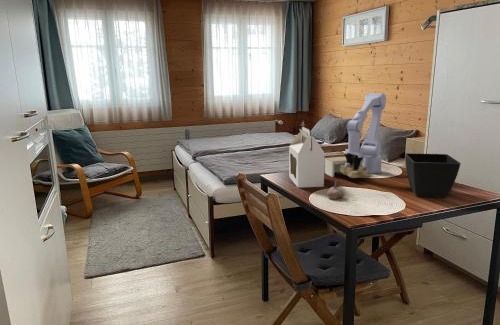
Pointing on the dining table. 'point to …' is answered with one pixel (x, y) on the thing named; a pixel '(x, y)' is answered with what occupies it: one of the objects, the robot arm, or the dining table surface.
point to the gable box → (306, 161)
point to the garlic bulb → (335, 192)
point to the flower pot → (431, 174)
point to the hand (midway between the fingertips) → (353, 168)
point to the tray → (354, 171)
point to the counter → (334, 165)
